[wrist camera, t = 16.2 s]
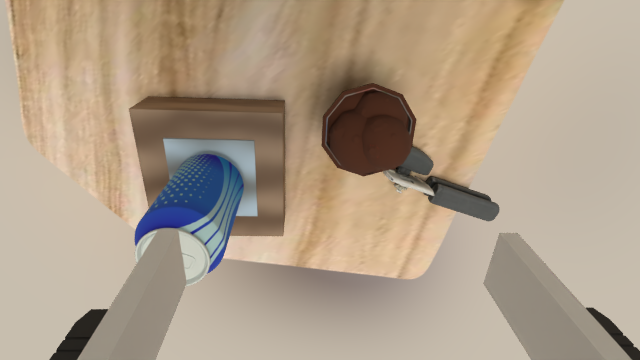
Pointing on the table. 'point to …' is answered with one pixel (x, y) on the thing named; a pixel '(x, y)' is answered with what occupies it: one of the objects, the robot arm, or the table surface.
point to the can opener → (441, 188)
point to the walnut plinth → (218, 150)
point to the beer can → (196, 212)
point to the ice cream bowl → (368, 130)
